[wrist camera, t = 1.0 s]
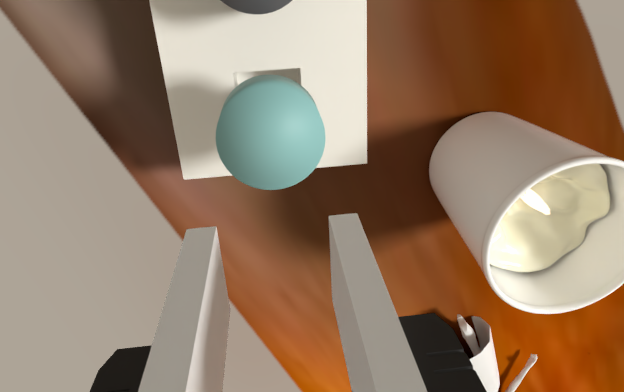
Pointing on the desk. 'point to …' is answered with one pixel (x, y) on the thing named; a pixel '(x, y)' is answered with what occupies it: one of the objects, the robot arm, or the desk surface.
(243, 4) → the knob mid
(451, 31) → the desk surface
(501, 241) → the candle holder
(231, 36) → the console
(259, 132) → the knob
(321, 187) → the desk surface
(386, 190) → the desk surface
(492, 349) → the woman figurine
